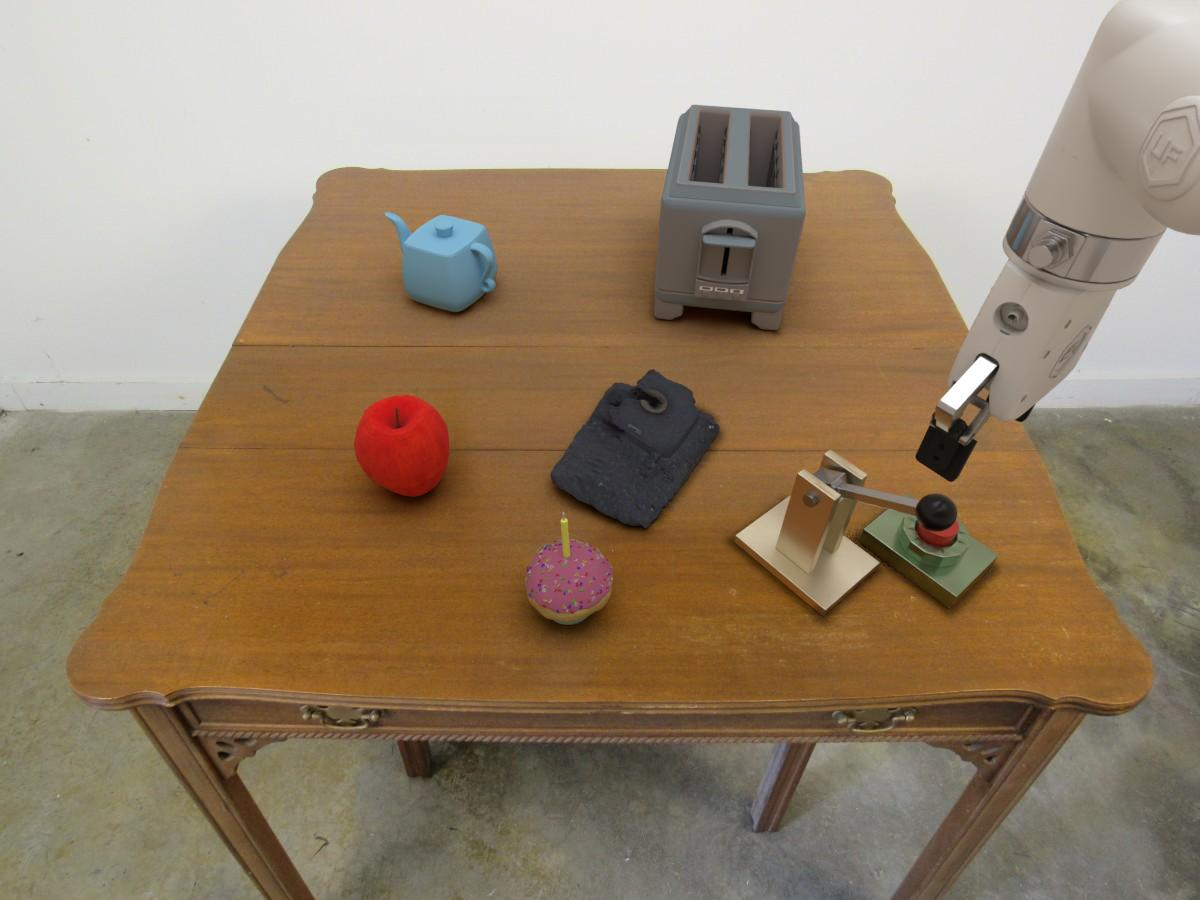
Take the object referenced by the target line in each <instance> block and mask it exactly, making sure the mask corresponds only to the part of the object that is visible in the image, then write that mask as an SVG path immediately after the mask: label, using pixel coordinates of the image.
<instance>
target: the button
mask: <svg viewBox="0 0 1200 900" xmlns="http://www.w3.org/2000/svg"><path fill="white" fill-rule="evenodd" d="M958 531H959V524H958V521H957V520H956V521H955V523H954V524H953V525H952V526H951V527H950V528H949V529H947V530H945V531H940V532H933V531H929V530H927V529H925V528H924V527H922V526H921V525H920V524H918V526H917V532H918V535H919V536H920V538H921V539H922V540H924V541H925V542H926V543H928V544H930V545H933V546H937V547H945V546H948V545H950V544H951V543H952V541H953V540H954V538H955V536H956V534H957V533H958Z"/></svg>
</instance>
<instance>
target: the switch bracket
mask: <svg viewBox="0 0 1200 900" xmlns="http://www.w3.org/2000/svg"><path fill="white" fill-rule="evenodd" d="M821 468H824V469H829V470H833V471H838V472H842V473H845V474H846V479H847V484H851V485H856V486H860V487H864V486H865V483H866V481H867V478H868V476H869V474H867V473H866V472H865V471H863V470H862V469H860V468H859V467H857V466H856V465H855V464H853V463H851V462H850V461H848V460H847V459H846V458H844V457H842V456H841V455H840V454H838V453H837V452H835V451H834V450H833V449H831V448H830V449H829V450H826V452H825V453H823V456H822V459H821V463H820V465H819V468H818V470H819V469H821ZM812 474H813V473H812V472H810V471H808V469H805V468H802V469H801V470H800V471H798V472H797V474H796V477H795V479H794V484H793V487H792V490H791V493H790V495H788V496H786V497H785V498H784V499H783V500H781V501H780V502H778V503H777V504H776V505H774V506H773V507H771V508H770V509H769V510H768V511H767V512H765V513H764V514H762V515H761V516H760V517H758V518H757V519H755V520H754V521H753V522H751V523H750V524H748V526H746V527H745V528H744V529H741V531H739V532H738V533H737V534H735V536H734V540H733V542H734V544H736V545H737V546H738V547H739V548H741V550H743V551H744V552H745V553H746V554H747V555H749V556H750V557H752V559H754V560H755V561H756V562H757V563H758V564H760V565H761V566H762V567H763V568H764V569H766V570H767V571H768V572H769V573H770V574H771V575H772V576H774V577H775V578H776V579H777V580H779V581H780V582H781V583H782V584H783V585H785V586H786V587H787V588H788V589H789V590H791V592H793V593H794V594H795V595H796V596H798V597H799V598H800V600H802V601H803V602H805V603H806V604H807V605H808V606H809V607H811V608H812V609H813V610H814V611H815V612H817V613H818V615H820V616H822V617H825V616H826V615H827V614H828V613H829V612H830V611H831V610H832V609H834V608H835V607H836V606H837V605H838V604H839V603H840V602H842V601H843V600H844V599H845V598H846V597H847V596H848V595H849V594H851V593H852V592H853V591H854V590H855V589H856V588H857V587H858V586H860V585H861V584H862V583H863V582H864V581H865V580H867V578H869V577H870V576H871V575H872V574H873V573H874V572H875V571H877V570H878V568H879V566H880V564H881V562H880V561H879V560H878V559H877V558H875V557H873V556H872V555H871V554H869V553H868V552H867V551H865V550H864V549H863V548H862V547H860V546H859V545H858V544H856V543H855V542H853V541H852V540H851V539H850V538H848V537H847V536H845V533H846V532H847V530H848V526H849V524H850V522H851V518H852V516H853V513H854V511H855V508H856V506H857V503H858V501H854V500H850V499H846V498H845V499H843V500H842V501H841V502H839V500H840V498H841V495H840V494H839V493H838V492H836V491H835V490H833V489H832V488H831V487H829V486H828V485H826V484H825V483H824V482H822V481H821V480H819V479H818V478H817V477H815V476H814V475H812Z"/></svg>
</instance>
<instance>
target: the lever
mask: <svg viewBox="0 0 1200 900" xmlns="http://www.w3.org/2000/svg"><path fill="white" fill-rule="evenodd" d="M811 474H812V475H814V476H815V477H817V478H818V479H819V480H821V481H822V482H824V483H825V484H826V485H828V486H829V487H831V488H832V489H833V490H835V491H836V492H838V493H839V494H840V495H841V498H840V500H839V502H841V501H842V500H843V499H845V498H846V499H850V500H854V501H857V503H862V504H867V505H870V506H875V507H878V508H882V509H886V510H887V509H890V510H894V511H898V512H902V513H906V514H910V515H914V516H916V518H917V521H918V522H919V524H920V525H921V526H922V527H924V528H925V529H927V530H929V531H933V532H940V531H945V530H947V529H949V528H950V527H951V526H952V525H953V524H954V523H955V521H956V518H958V509H957V505H956V504H955V502H954V501H953V500H952V499H951V498H950V497H949V496H947V495H945V494H943V493H937V492H936V493H935V492H934V493H929V494H926V495H924V496H923V497H921V498H920V499H917V498H915V499H912V498H908V497H903V496H904V495H898V494H894V493H890V492H885V491H881V490H878V489H873V488H869V487H864V486H863V487H860V486H856V485H851V484H847V479H846V474H845V473H842V472H838V471H833V470H829V469H824V468H821V469H819V468H818V470H817V471H815V472H814V473H811ZM916 499H917V500H916Z"/></svg>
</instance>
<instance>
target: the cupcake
mask: <svg viewBox="0 0 1200 900" xmlns="http://www.w3.org/2000/svg"><path fill="white" fill-rule="evenodd" d="M561 514H562V515H561V516H562V518H561V519H560V530H561V531H560V532H561V539H556V540H554V541H551V542H550V543H549V542H547V543H545V545H543V546H541V548H540V549H537V551H536V553H535V554H534V556H533V557H532V559H530V562H529V564H528V566H526V571H525V573H526V574H525V577H524V587H525V591H526V595H527V599H528V602H529V603H530V605H531V606H532V607H533V608H534V609H535V610H536V611H537V612H538V613H539V614H540V615H541V616H542V617H543V618H545V619H548V620H552V621H554V622H555V623H557V624H560V625H565V626H570V625H571V626H573V625H576V624H579V623H581V622H583V621H584V620H585V619H588V617H589V616H590V615H593V614H594V613H595V612H598V611H600V610H603V608H604V607H605V606H606V605H607V604H608V601H609V600H610V598H611V594H612V592H613V580H614V577H613V566H612V565H611V563H610V562H609V560H608V559H607V558H606V556H605V555H604V554H603V553H602V552H601V551H600V549H599V548H598V547H595V546H593V545H591V544H589V543H588V542H584V541H581V540H578V539H573V538H571V539H570V535H569V534H570V533H569V520H568V519H567V518H566V515H565V512H564V511H562V512H561Z"/></svg>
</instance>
